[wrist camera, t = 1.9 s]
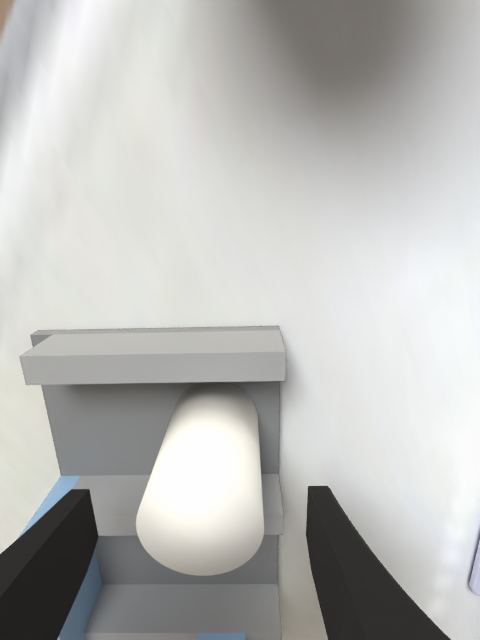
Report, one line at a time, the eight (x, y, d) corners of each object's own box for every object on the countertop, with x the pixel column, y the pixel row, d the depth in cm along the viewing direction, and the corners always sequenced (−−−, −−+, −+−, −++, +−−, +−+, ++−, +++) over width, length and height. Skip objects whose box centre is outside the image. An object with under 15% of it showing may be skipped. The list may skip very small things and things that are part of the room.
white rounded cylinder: (257, 380, 16) (263, 475, 10) (258, 453, 17) (264, 575, 12) (170, 381, 16) (128, 477, 10) (176, 454, 17) (143, 576, 12)
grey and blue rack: (278, 325, 16) (291, 370, 11) (276, 588, 21) (284, 689, 16) (38, 330, 16) (-40, 376, 12) (92, 588, 21) (52, 689, 17)
